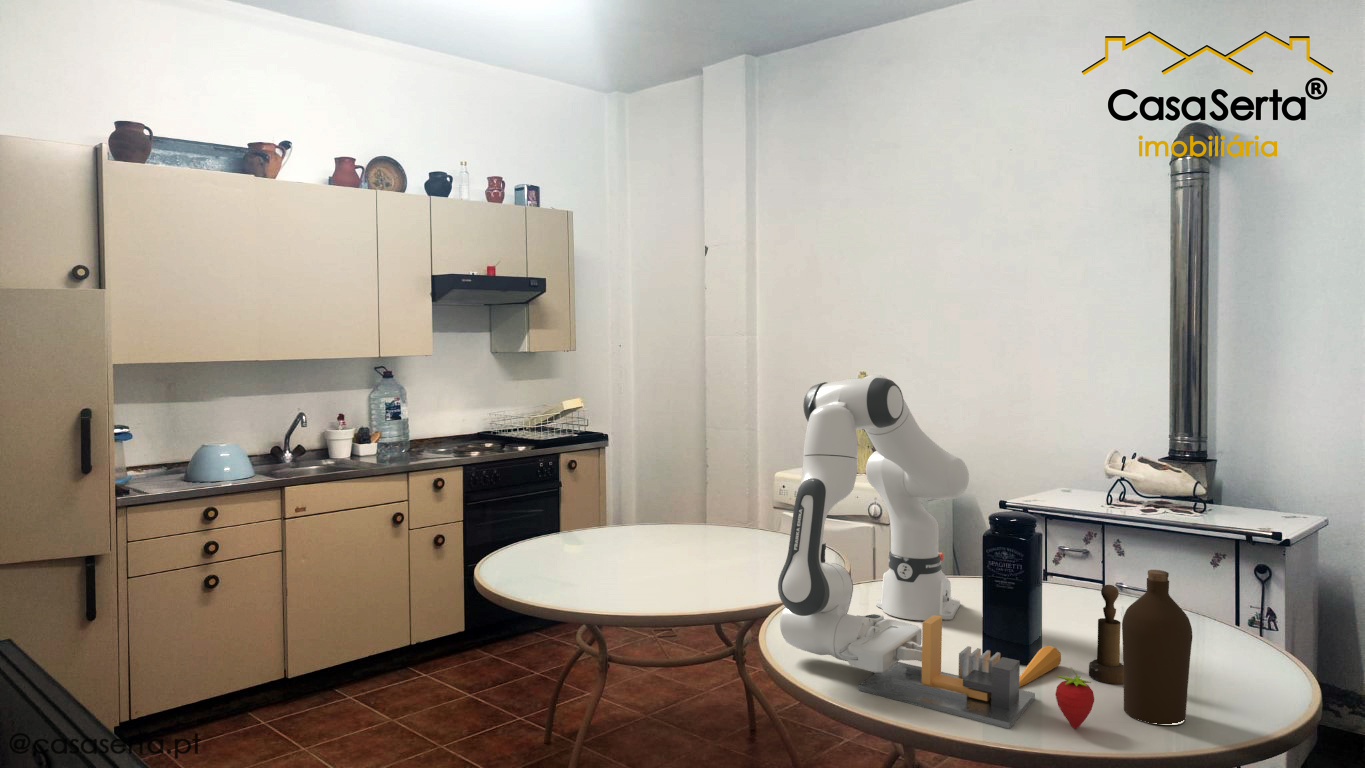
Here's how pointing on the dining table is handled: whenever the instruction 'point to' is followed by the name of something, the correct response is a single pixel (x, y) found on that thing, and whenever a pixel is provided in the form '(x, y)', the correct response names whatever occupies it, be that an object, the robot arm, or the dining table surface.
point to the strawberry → (1074, 699)
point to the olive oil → (1156, 654)
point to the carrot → (1040, 664)
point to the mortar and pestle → (1108, 643)
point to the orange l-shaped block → (933, 662)
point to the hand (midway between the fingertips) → (927, 655)
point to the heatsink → (976, 674)
